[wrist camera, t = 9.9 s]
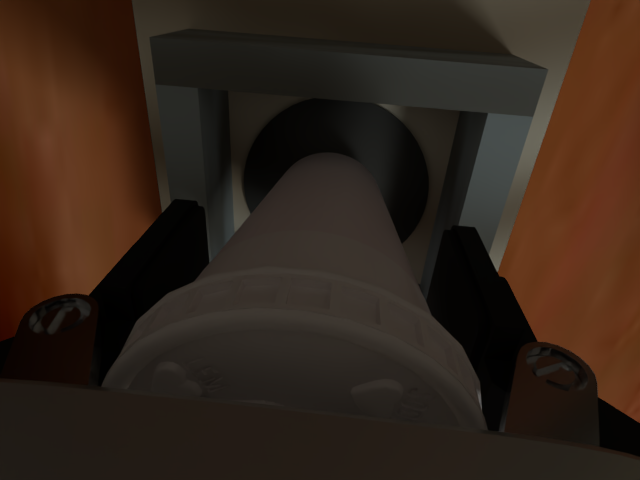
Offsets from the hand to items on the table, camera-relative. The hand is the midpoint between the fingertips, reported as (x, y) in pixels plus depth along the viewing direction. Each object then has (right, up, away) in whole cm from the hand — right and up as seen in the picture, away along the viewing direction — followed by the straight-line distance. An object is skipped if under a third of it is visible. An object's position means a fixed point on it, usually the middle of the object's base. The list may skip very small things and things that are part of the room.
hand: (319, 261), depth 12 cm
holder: (+1, +3, +6) cm, 7 cm away
